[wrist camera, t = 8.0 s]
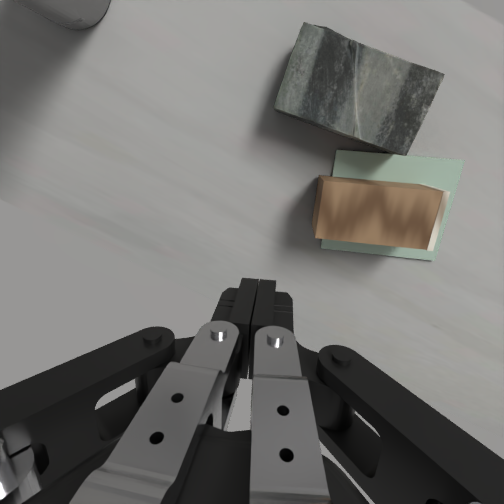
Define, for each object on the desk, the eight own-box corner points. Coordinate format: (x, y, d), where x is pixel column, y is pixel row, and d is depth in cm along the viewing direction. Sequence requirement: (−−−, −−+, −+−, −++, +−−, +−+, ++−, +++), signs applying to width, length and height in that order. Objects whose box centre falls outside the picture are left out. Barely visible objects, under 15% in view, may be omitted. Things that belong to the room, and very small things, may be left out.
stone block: (304, 23, 32) (307, 1, 28) (432, 72, 33) (458, 58, 28) (274, 111, 35) (272, 106, 31) (391, 156, 36) (407, 157, 31)
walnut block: (324, 180, 31) (450, 191, 30) (318, 174, 37) (424, 184, 35) (315, 238, 33) (432, 251, 32) (311, 224, 39) (411, 234, 38)
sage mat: (336, 149, 36) (336, 149, 35) (462, 159, 35) (464, 160, 34) (320, 247, 40) (321, 248, 39) (433, 259, 39) (434, 260, 38)
